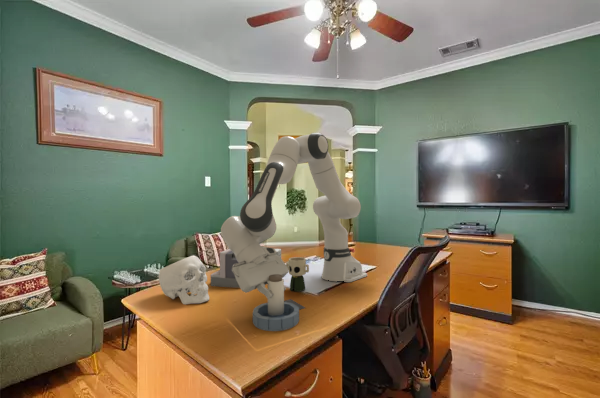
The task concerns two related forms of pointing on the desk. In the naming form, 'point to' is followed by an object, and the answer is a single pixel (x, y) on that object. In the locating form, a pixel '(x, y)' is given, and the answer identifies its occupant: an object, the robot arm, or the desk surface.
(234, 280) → the instant camera
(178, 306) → the desk surface
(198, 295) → the skull planter
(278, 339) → the desk surface
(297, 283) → the character mug
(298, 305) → the mat
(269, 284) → the salt mill
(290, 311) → the bowl
